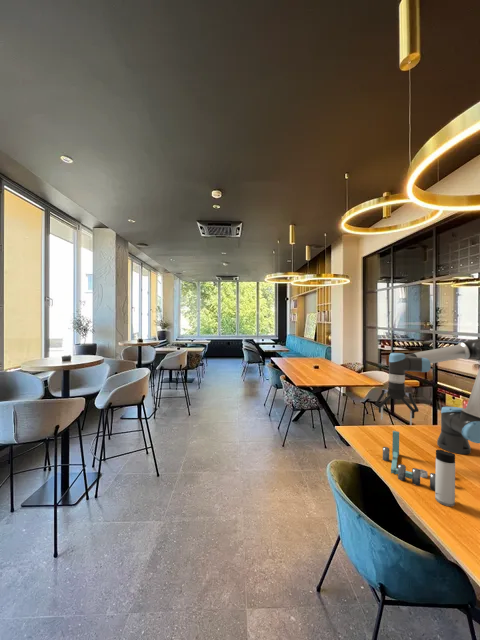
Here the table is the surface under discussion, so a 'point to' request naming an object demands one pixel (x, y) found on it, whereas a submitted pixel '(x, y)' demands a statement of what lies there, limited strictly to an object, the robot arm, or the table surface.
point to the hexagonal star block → (423, 473)
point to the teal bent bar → (395, 455)
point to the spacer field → (414, 472)
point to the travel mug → (445, 478)
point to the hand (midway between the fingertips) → (395, 421)
